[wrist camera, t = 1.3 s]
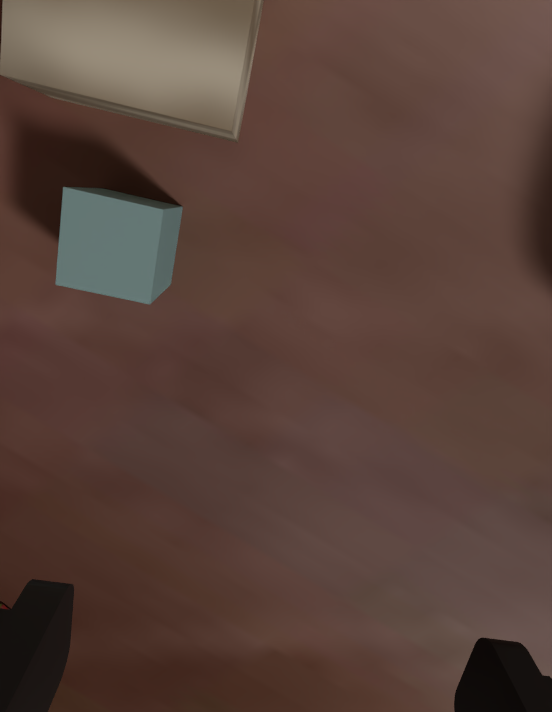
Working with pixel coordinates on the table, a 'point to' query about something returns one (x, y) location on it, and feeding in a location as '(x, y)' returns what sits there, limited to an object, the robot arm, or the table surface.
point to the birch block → (138, 57)
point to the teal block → (116, 243)
